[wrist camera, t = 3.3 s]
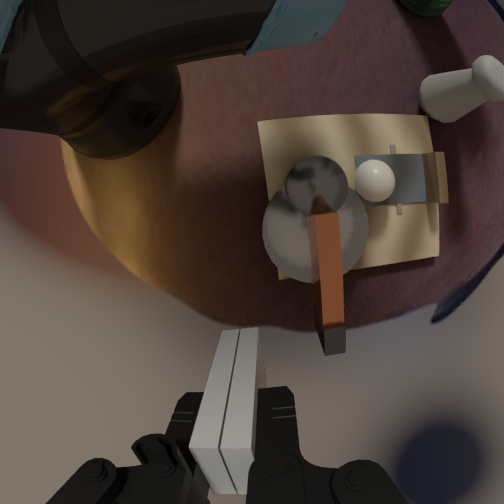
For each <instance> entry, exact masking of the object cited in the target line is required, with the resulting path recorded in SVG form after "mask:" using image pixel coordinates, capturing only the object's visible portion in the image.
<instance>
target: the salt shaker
mask: <svg viewBox="0 0 504 504" xmlns="http://www.w3.org/2000/svg"><path fill="white" fill-rule="evenodd" d="M487 100H491V101H493V102H502V101H504V66H503V65H502V64H501V63H500V62H499V61H498V60H496V59H495V58H494V57H492V56H488V55H484V56H480V57H479V58H477V59H476V60H475V61H474V62H473V64H472V68H470V69H464V70H457V71H451V72H445V73H440V74H435V75H429V76H428V77H427V78H426V79H424V80H423V81H422V83H421V86H420V90H419V105H420V107H421V108H422V109H423V111H424V112H425V113H426V115H427V116H428V117H430V118H433V119H436V120H438V121H440V122H443V123H448V122H455V121H456V120H458V119H459V118H461V117H462V116H464V115H466V114H467V113H469V112H470V111H472V110H473V109H475V108H476V107H478V106H480V105H481V104H483V103H484V102H486V101H487Z"/></svg>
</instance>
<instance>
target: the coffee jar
mask: <svg viewBox="0 0 504 504" xmlns="http://www.w3.org/2000/svg"><path fill="white" fill-rule="evenodd" d="M399 1H400V2H401V3H402V5H403V6H404V7H405V8H407V9H408V10H409V11H411V12H413V13H415V14H417V15H420V16H426V17H432V16H438V15H440V14H441V13H442V12H444V11H445V9H446V8H447V7H448V6H449V5H450V4H451V2H452V1H453V0H399Z"/></svg>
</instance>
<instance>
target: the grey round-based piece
mask: <svg viewBox="0 0 504 504" xmlns="http://www.w3.org/2000/svg"><path fill="white" fill-rule="evenodd" d="M262 233H263V241H264V245H265V248H266V251H267V253H268V255H269V257H270V259H271V260H272V262H273V263H274V264H275V265H276V266H277V268H278V269H280V270H281V271H282V272H283V273H285V274H286V275H288V276H289V277H291V278H293V279H295V280H299V281H302V282H307V283H313V288H314V302H315V304H314V310H315V326H316V330H317V333H318V336H319V339H320V342H321V345H322V348H323V351H324V354H325V356H327V355H334V354H340V353H345V349H346V348H345V347H346V326H345V324H344V294H343V275H344V274H345V273H347V272H348V271H349V270H350V269H351V268H352V267H353V266H354V265H355V264H356V263H357V262H358V260H359V259H360V257H361V256H362V254H363V252H364V249H365V247H366V244H367V240H368V234H369V222H368V216H367V212H366V209H365V207H364V205H363V203H362V201H361V199H360V198H359V196H358V195H357V194H356V193H355V192H354V191H353V190H352V189H351V188H350V187H349V186H348V181H347V177H346V175H345V172H344V171H343V169H342V168H341V167H340V165H339V164H338V163H336V162H335V161H334V160H332V159H330V158H328V157H325V156H319V155H316V156H309V157H306V158H304V159H302V160H300V161H299V162H297V163H296V164H295V165H293V166H292V167H291V168H290V169H289V170H288V171H287V173H286V175H285V177H284V181H283V186H282V187H281V188H280V189H279V190H278V191H277V192H276V193H275V194H274V195H273V197H272V198H271V199H270V201H269V203H268V205H267V207H266V210H265V213H264V217H263V227H262Z"/></svg>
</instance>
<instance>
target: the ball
mask: <svg viewBox="0 0 504 504" xmlns="http://www.w3.org/2000/svg"><path fill="white" fill-rule="evenodd" d="M354 184H355V187H356V190H357V192H358V193H359V194H360V195H361V196H362V197H363V198H364V199H366V200H368V201H371V202H380V201H383V200H385V199H387V198H388V197H389V196H390V195H391V194H392V192H393V190H394V187H395V176H394V173H393V171H392V170H391V168H390V167H389V166H388V165H387V164H386V163H384V162H382V161H379V160H368V161H365V162H363V163H362V164H361V165H360V166H359V167H358V168H357V170H356V172H355V176H354Z"/></svg>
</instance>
